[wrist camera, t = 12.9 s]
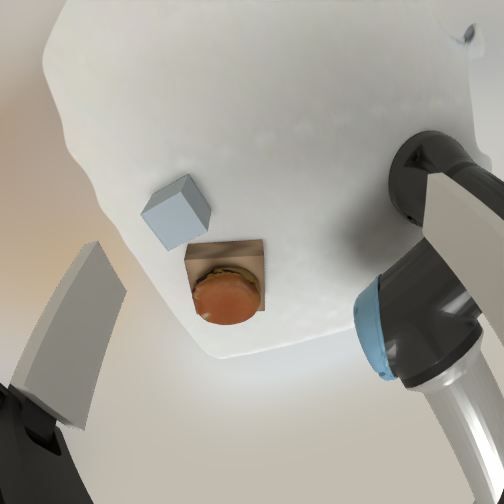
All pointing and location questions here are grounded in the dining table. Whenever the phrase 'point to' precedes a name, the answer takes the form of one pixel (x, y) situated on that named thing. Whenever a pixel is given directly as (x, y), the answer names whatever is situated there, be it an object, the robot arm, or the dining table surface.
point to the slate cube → (177, 213)
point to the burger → (227, 296)
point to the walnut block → (226, 260)
